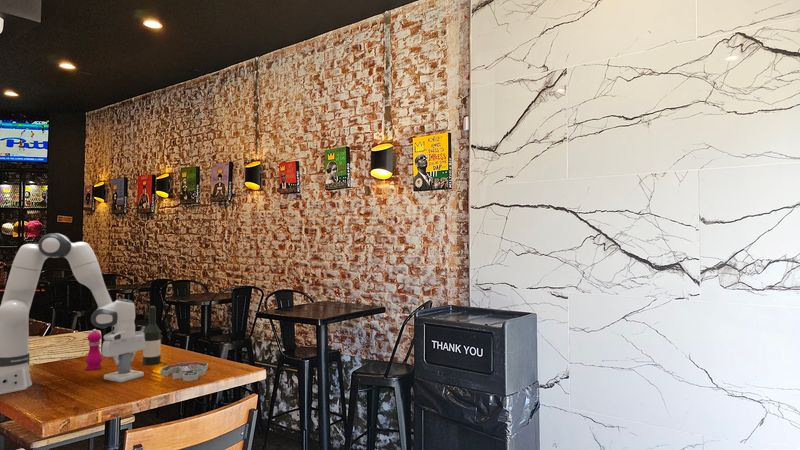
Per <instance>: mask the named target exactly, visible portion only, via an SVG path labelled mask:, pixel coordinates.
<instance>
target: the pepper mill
mask: <svg viewBox="0 0 800 450" xmlns="http://www.w3.org/2000/svg"><path fill="white" fill-rule="evenodd" d="M97 330H98V329H96V328H94V329H92V332H90V333H89V334H88V335H87V341H88V346H89V351H88V353H87V356H86V359H85V363H86V364H87V365H86V370H87V371H96V370H101V368H102V364H101V363H102V362H103V355H102V352H101V351H100V345H101V339H102V334H101V333H100V332H98V331H97Z"/></svg>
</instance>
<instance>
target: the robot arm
mask: <svg viewBox="0 0 800 450" xmlns="http://www.w3.org/2000/svg"><path fill="white" fill-rule="evenodd" d="M92 248H93V247H92V246H91V245H90V244H89V243H88V242H85V241H76V242H72V241H71V240H70V238H69V237H68V236H66V235H64V234H61V233H58V232H55V233H52V232H51V233H48V234H45V235H43V236H41V238H40V239H39V241H38V243H25V244H23V245H21V246H20V248H19V249H18V251H17V252H16V255H15V256H14V259H13V261H12V264H11V268H10V271H9V274H8V277H7V278H8V279H7V281H6V285H5V289H4V293H3V296H2V299H1V302H0V303H1V304H0V395H3V394H9V393H13V392H14V393H15V392H19V391H24V390H27V389H28V388H29V387H31V386H32V385H33V382H32V379H31V375H30V368H29V366H30V352H29V345H30V344H29V339H30V338H29V334H30V333H29V332H30V331H29V330H30V328H29V326H30V325H29V321H30V319H29V318H30V316H29V315H30V310H31V307H32V303H33V299H34V296H35V293H36V289H37V286H38V283H39V279H40V276H41V272H42V269H43V266H44V263H45V261H46V260H47V259H48V258H49V259H50V258H53V259H55V258H65V259H66V260H67V261H68V264H69V266H70V269H71V271H72V274H73V276H74V278H75V279H76V281H77V283H79V284H80V285H81V284H82V285H84V286H86V287H87V288H88V289H89V290H90V291H91V293H92V296H93V298H94V300H95V302H96V304H97V309H95V310H94V311H93V313H92V314H91V315H90V322H91V324H92V325H93V326H94V327H96V328H99V329H106V328H108V327H109V328H110V327H114V328H113V330H112V331H110V332H108V333H106V334H104V335H103V340H104V341H103V343H102V347H101V355H102V357H105V358H110V357H112V358H113V360H114V365H116V366H118V365H119V364H121V363H120V362H121V360H118V357H119V355H121V354H126V353H131V362H134V357H135V355H136V352H139V351H143V350H144V349H145V338H144V331H142V330H139V331H137V330H136V324H135V320H136V306H135V303H134V301H133V300H131V299H126V298H118V299H116V300H115V301H113V300H112V296H111V295H110V292H109V290H108V289H107V286H106V283H105V281H104V277H103V274H102V270H101V266H100V263H99V260H98V259H97V256H96V254H95V252H94V250H93V249H92Z"/></svg>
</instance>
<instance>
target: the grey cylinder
mask: <svg viewBox="0 0 800 450" xmlns="http://www.w3.org/2000/svg"><path fill="white" fill-rule="evenodd" d="M117 358H118V360H121V362H120V363H121V364H119V365H117V372H118V374H127V373H130V370H132V368H131V353H126V354H121V355H119V357H117Z"/></svg>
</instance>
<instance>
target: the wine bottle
mask: <svg viewBox="0 0 800 450" xmlns="http://www.w3.org/2000/svg"><path fill="white" fill-rule="evenodd" d="M143 332H144V338H145V349H144V350H142V365H143V366H155V365H158V364H160V363H161V353H162V351H161V349H162V348H161V347H162V345H161V343H162V341H161V340H162V337H161V336H162V335H161V334H162V331H161V329H160V328H159V326H158V325H157V307H156V306H155V305H150V306H149V308H148V324H147V326H146V327H145V328H144V330H143Z"/></svg>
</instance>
